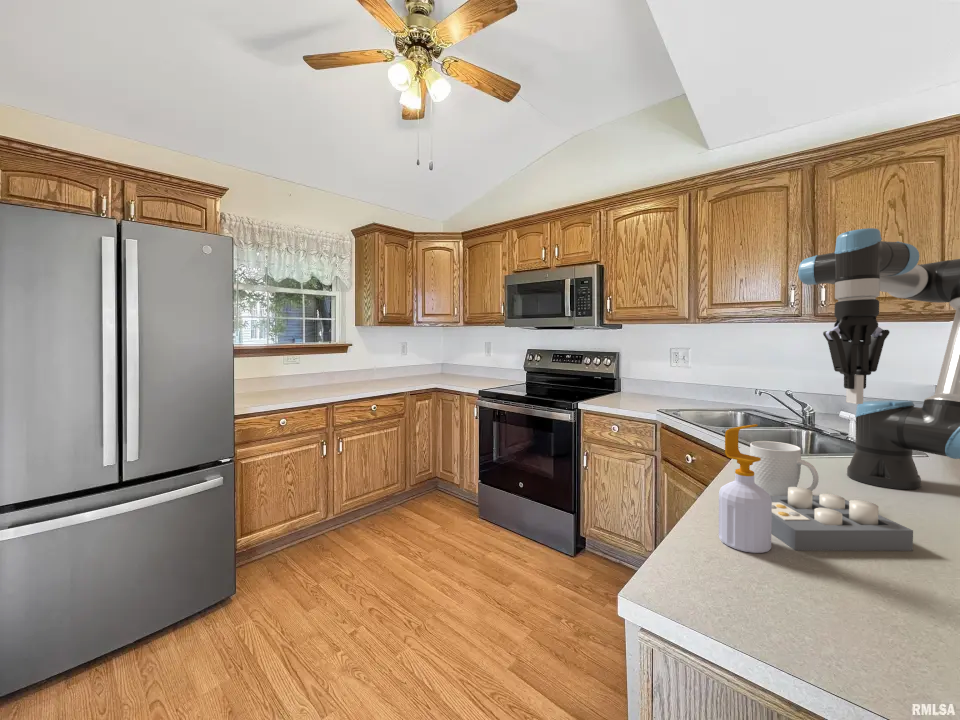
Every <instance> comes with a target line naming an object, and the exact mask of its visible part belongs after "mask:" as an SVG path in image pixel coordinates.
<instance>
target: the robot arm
mask: <svg viewBox="0 0 960 720" xmlns="http://www.w3.org/2000/svg"><path fill="white" fill-rule="evenodd" d="M882 240H883V239H882V235H881V231H880V229H879V228H874V227H873V228H872V227H870V228H860V229H853V230H849V231H845V232H842V233H840V234H839V235H837V237H836V239H835V250H834V252H831V253H824V254H823V253H822V254H816V255H813V256H810V257H807V258H804V259H802V261H801V262H800V263H799V264H798V265H799V266H798V271H797V276H798V279H799V280H800V282H802V284H804V285H809V286H812V285H815V286H816V285H820V284H830V285H834V299H835V300H837V301H836V302H835V303H834V310H833V311H834V315H833V316H834V318H836V320H835V322H834V325H833V328H831V329H830V330H824V331H823V332H822V335H823V337H824V338H825V340H826V342H827V345H828V350H829V353H830V357H831V362H832V364H833V365H832V366H833V370H834V371H835V372H838V373H840V374H841V375H843V387H844V389H846V390H845V391H846V393H845V394H846V398H845V401H846V402H845V403H848V404H854V405H856V410H855V415H854V416H855V417H854V418H855V450H854V453H853V456H852V458H851V460H850V463H849V465H848V466H847V469H846V472H847V473H846V475H847V477H849V478H850V479H852V480H854V481H856V482H860V483H863V484H867V485H870V486H871V485H872V486H875V487H882V488H888V489H897V490H916V489H920V488H921V487H922V478H921V475H919V472H918V469H917V466H916V463H915V461H914V458H913V451H916V452H921V453H926V454H933V455H937V456H942V457H948V458H950V459H954V460H958V459H959V460H960V258H956V259H950V260H941V261H936V262H930V263H929V262H928V263H922V264H918V263H919V261H920V257H921V256H920V252H919V250H918V248H917V247H916V246H915V245H913V244H911V243H907V242H903V241H884V240H883V241H882ZM880 292H884V293H887V294H889V296H891V297H894V298H897V299H904V300H910V301H918V302H926V303H937V304H938V303H939V304H940V303H949V306H950V307H951V308H953V309H954V310H955V313H954V318H953V322H952V326H951V329H950V332H949V337H948V341H947V345H946V349H945V352H944V356H943V361H942V365H941V368H940V372H939V376H938V379H937V383H936V384H937V385H936V387H935V392H934V394H933V395H931V396H929V397H927V398H925V399H924V401H923V404H922V407H917V406H916V405H915V403H914V401H912V400H898V399H897V400H896V399H895V400H891V399H890V400H889V399H888V400H887V399H885V400H866V401H864V390H865V389H866V388H867V376H871V375H872V373H873V372H877V370H878V368H879V367H878V366H879V363H880V360H881V354H882V352H883V347H884V344H885V340H886V339H887V338H888V336H889V335H890V330H889V329H883V328H881V326H880V327H879V322H878V321H877V317H878V316H879V315H880V300H878V299H877V298H879V297H880Z"/></svg>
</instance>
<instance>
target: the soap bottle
mask: <svg viewBox="0 0 960 720" xmlns="http://www.w3.org/2000/svg"><path fill="white" fill-rule="evenodd" d="M755 427H758V423H757V424H749V425H741V426H737V427H730V428H728V429H727V430H725V433H724V453H725V454H724V455H725V456H726V457H727V458H729V459H731V460H736V464H739V468H736V469H734V480H733V481H730V482H727V483H726V484H724V485H722V486H720V489H719V490H718V491H719V492H718V539H719V540H720V541H721V542H722V543H723V544H725V545H726V546H728V547H730V548H732V549H735V550H738V551H740V552H744V553H750V554H761V553H767V552H769V551H770V550H771V549H772V534H771V528H772V501H771V497H770V495H769V494H768V493H767V492H766V491H765V490H764V489H763V488H761V487H760V486H758V485H756V484H755V482H754V471H751V467H750V466H751V465H753V462H757V461H761V458H759V457H755V456H750V454H746V453H742V452H741V451H740V450H739V434H740V430H743V429H751V428H755Z"/></svg>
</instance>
